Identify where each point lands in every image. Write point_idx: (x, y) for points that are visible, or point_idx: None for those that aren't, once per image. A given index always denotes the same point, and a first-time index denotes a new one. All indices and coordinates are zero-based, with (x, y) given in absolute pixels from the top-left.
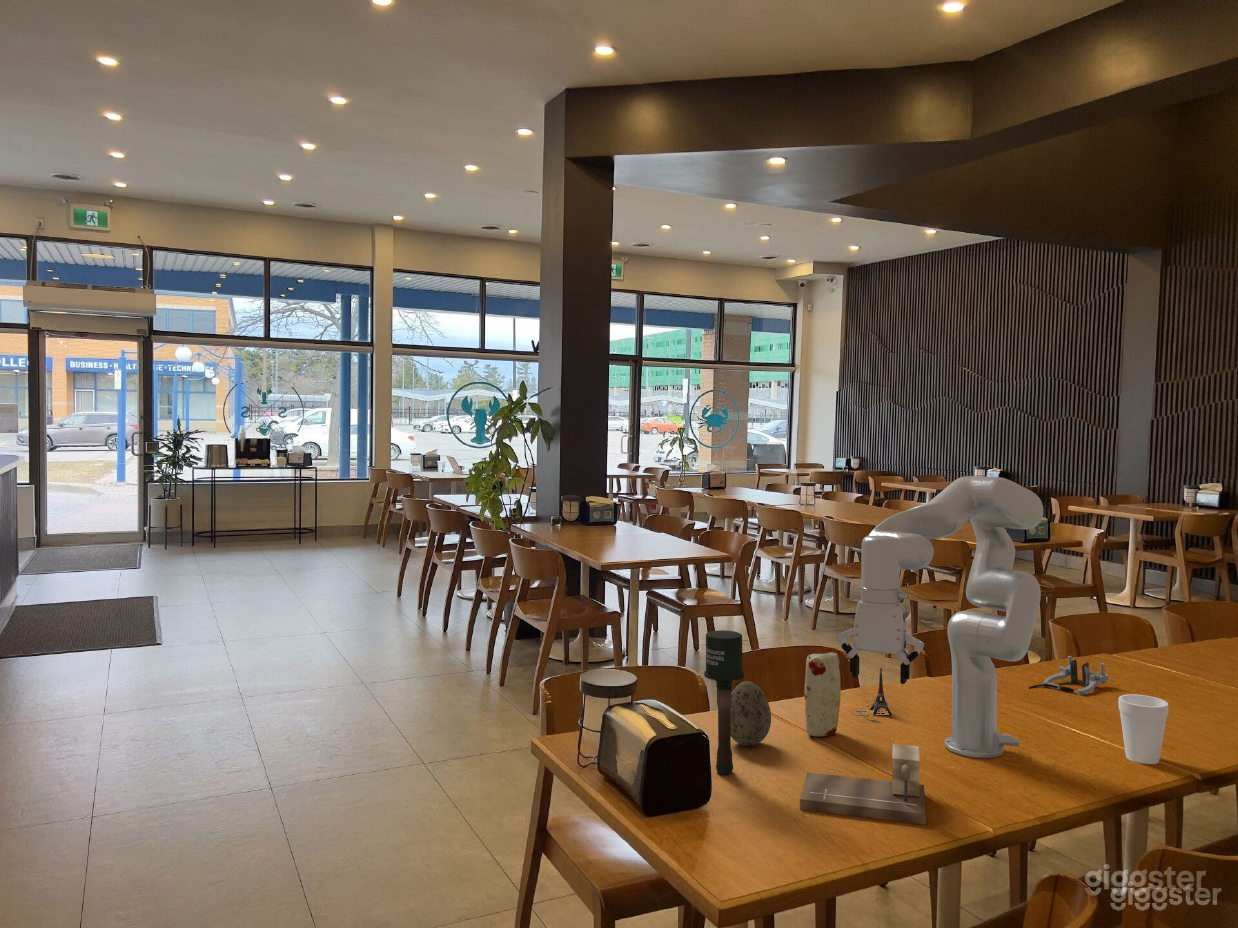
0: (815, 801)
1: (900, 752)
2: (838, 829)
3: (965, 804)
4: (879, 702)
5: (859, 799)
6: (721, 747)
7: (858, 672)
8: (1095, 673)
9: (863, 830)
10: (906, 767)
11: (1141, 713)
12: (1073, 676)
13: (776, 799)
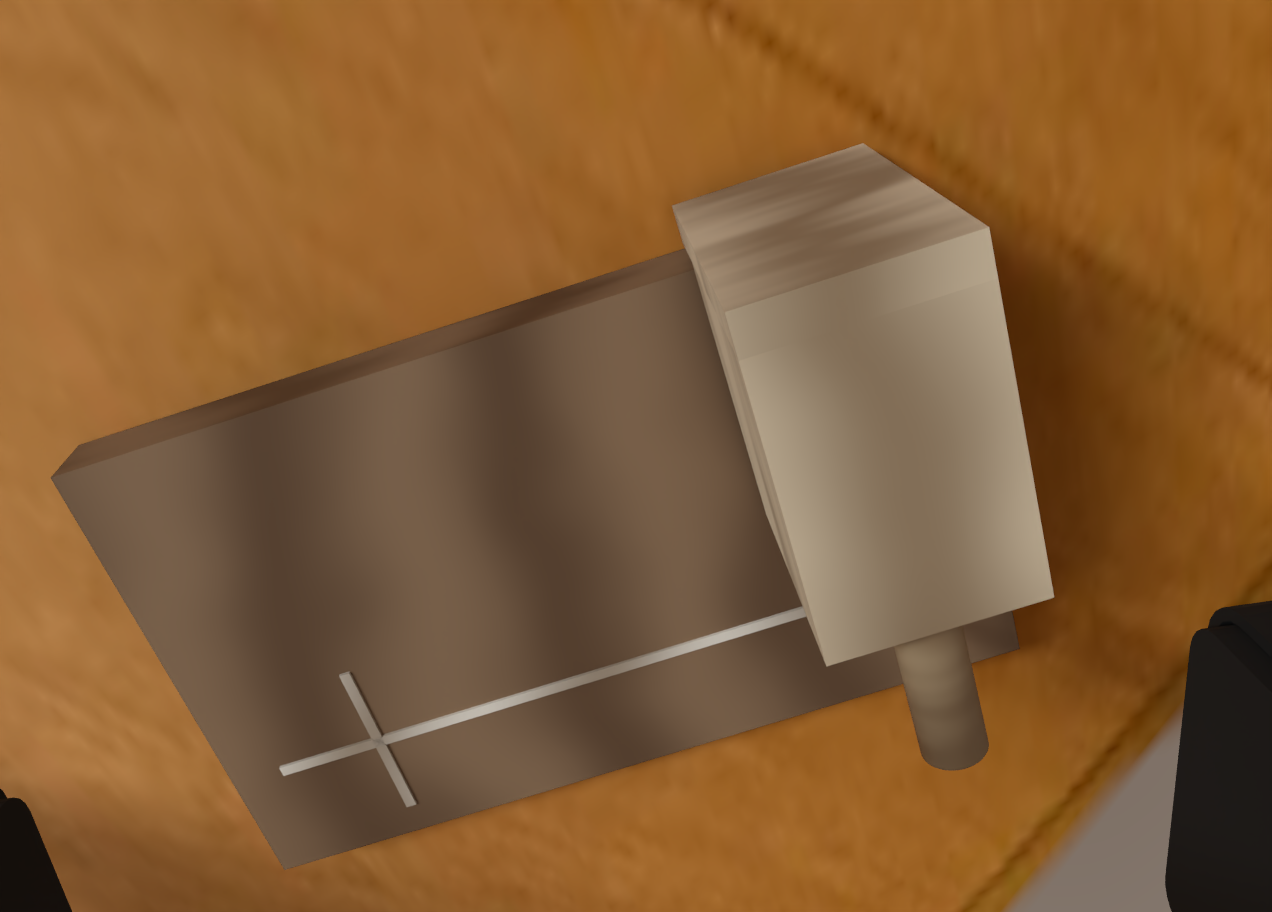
0: (376, 838)
1: (857, 499)
2: (591, 900)
3: (1202, 178)
4: None
5: (596, 683)
6: None
7: (23, 906)
8: None
9: (707, 845)
10: (951, 689)
11: None
12: None
13: (103, 791)
